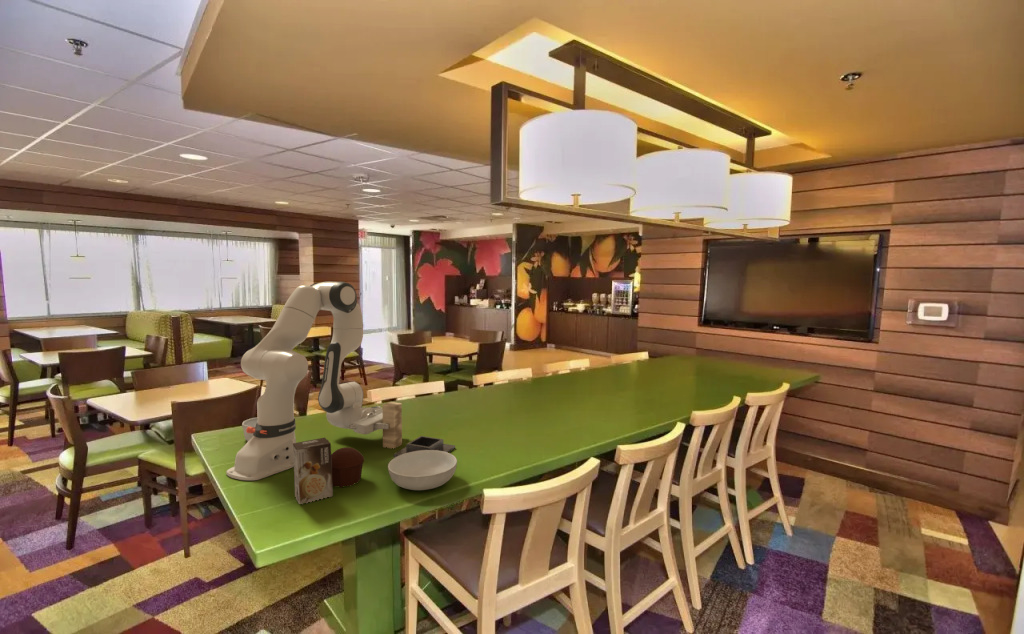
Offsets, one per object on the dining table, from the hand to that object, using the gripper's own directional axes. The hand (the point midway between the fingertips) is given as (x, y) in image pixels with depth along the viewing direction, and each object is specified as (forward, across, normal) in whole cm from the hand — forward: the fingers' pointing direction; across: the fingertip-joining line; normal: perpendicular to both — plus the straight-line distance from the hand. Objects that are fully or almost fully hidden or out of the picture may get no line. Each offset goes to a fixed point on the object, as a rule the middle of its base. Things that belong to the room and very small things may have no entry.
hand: (394, 423), depth 173 cm
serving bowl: (+27, -23, +9) cm, 37 cm away
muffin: (+4, -31, +9) cm, 32 cm away
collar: (+14, -1, +8) cm, 16 cm away
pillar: (-1, 0, +8) cm, 9 cm away
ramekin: (-53, -13, +9) cm, 55 cm away
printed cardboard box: (+3, -43, +9) cm, 44 cm away
